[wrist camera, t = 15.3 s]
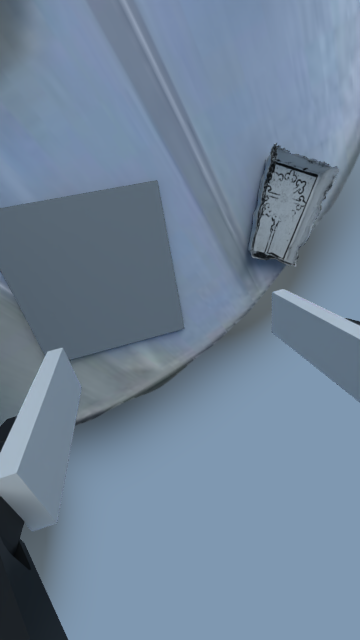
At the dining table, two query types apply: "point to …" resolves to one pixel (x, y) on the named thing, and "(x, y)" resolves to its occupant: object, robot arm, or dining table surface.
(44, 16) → the dining table surface
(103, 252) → the mat
